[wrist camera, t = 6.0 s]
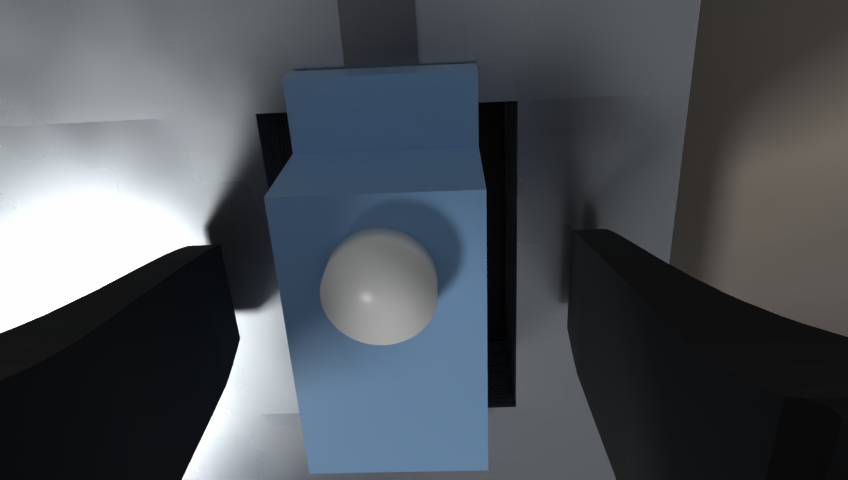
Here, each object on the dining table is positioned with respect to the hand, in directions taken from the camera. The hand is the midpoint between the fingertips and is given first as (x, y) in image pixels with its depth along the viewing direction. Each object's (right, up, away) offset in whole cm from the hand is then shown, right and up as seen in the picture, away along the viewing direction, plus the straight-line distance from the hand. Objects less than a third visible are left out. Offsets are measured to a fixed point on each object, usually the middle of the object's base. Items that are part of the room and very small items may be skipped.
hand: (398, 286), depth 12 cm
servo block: (0, +1, +2) cm, 3 cm away
